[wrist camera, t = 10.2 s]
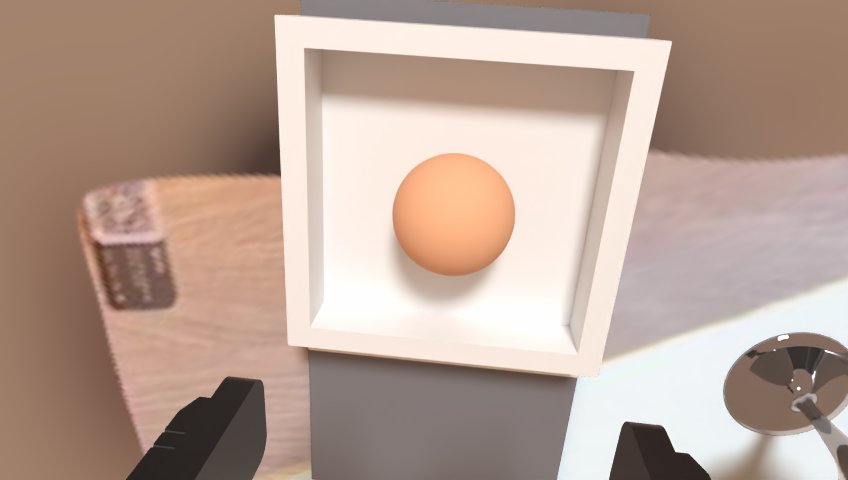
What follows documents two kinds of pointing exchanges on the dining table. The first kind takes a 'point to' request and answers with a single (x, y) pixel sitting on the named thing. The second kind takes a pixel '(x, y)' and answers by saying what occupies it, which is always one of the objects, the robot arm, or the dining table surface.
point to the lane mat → (438, 380)
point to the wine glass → (792, 389)
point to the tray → (473, 135)
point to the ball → (453, 214)
